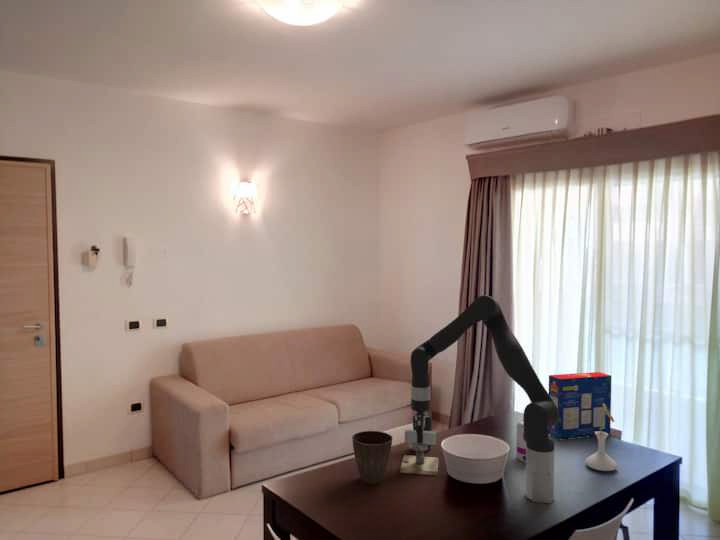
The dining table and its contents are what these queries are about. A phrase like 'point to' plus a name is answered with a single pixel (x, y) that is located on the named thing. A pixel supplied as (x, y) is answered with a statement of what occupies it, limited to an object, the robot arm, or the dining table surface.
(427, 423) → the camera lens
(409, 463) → the post base
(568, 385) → the blue product box
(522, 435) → the supplement can
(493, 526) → the dining table surface
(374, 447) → the plant pot
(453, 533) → the dining table surface
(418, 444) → the collar
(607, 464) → the flower in vase
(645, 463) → the dining table surface
